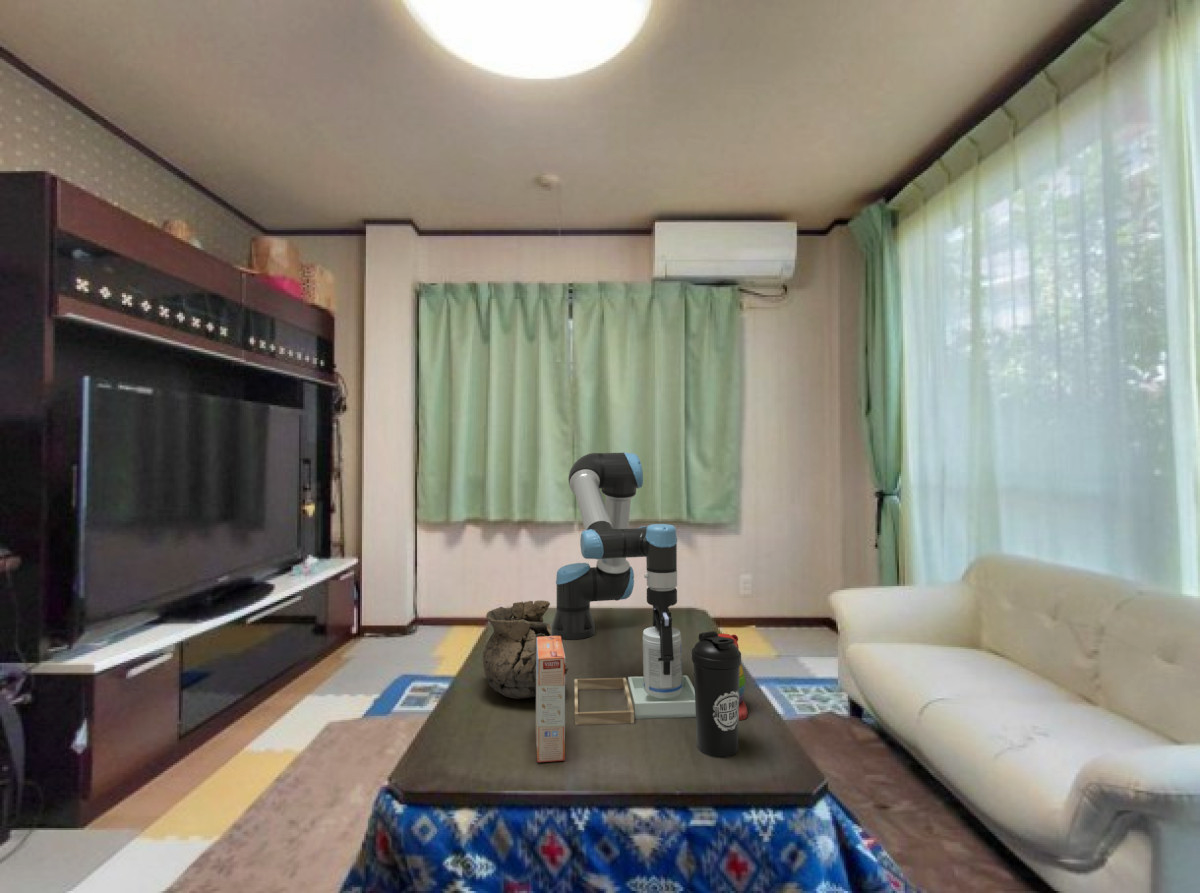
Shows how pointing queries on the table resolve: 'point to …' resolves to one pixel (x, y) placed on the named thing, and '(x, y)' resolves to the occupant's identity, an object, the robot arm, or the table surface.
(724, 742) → the water bottle
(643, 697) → the pale mint square tray
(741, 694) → the stacking bear
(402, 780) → the table surface
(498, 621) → the clay pot
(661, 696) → the supplement tub
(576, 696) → the oak frame
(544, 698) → the cracker box
